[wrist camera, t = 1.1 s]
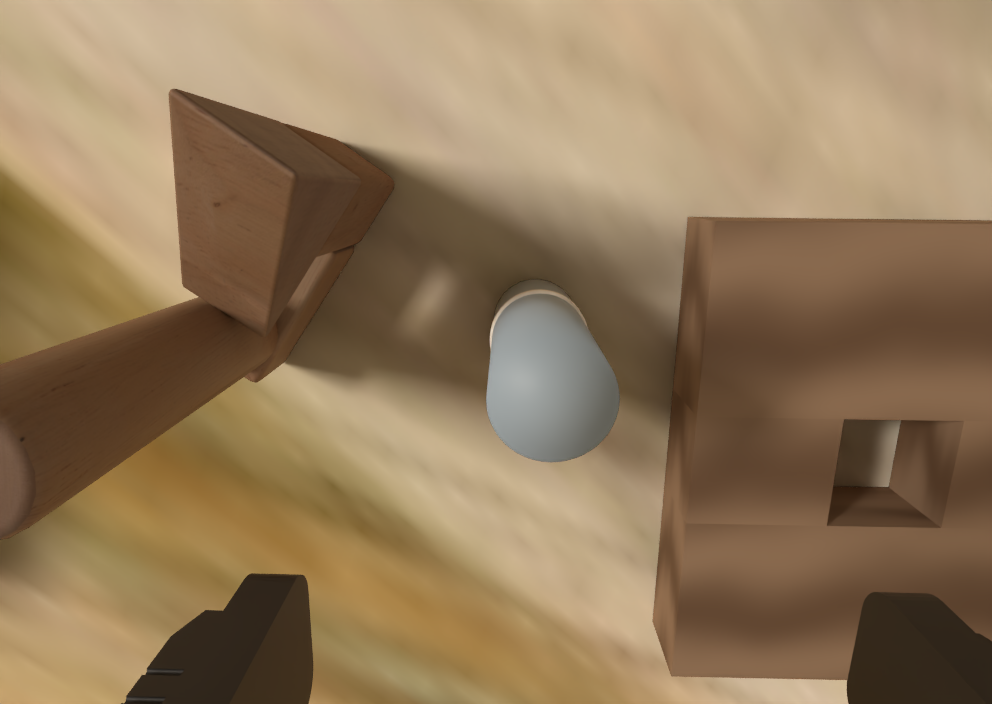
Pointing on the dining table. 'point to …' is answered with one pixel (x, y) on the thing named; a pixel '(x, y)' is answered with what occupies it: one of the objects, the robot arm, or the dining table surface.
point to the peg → (547, 376)
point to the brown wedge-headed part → (192, 303)
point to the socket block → (822, 438)
